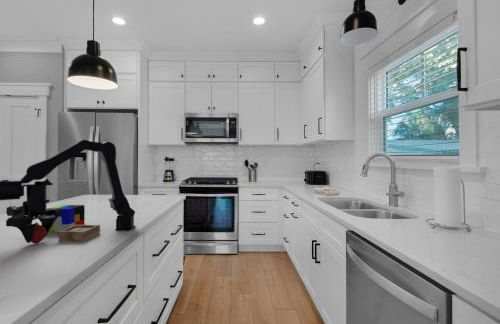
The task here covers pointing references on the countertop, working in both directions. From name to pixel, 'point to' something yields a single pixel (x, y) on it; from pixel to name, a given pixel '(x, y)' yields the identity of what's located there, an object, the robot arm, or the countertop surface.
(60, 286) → the countertop surface
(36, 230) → the onion
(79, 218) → the puzzle toy
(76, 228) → the wooden tray
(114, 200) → the robot arm
